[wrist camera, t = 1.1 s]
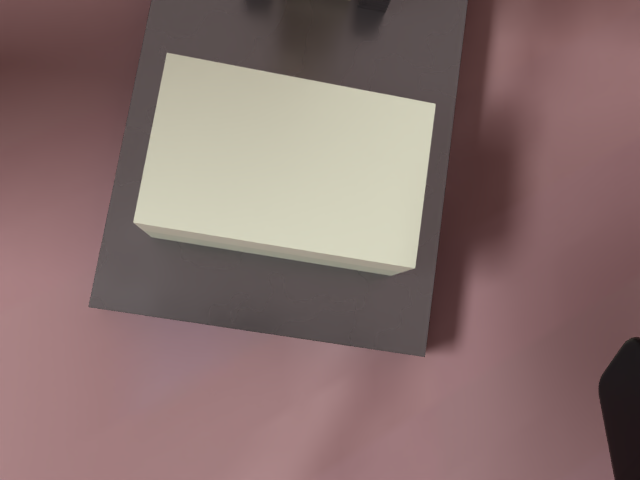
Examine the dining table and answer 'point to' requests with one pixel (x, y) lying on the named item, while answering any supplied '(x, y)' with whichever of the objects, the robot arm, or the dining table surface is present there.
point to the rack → (265, 271)
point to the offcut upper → (286, 165)
